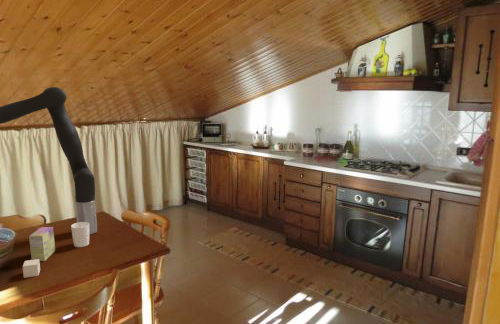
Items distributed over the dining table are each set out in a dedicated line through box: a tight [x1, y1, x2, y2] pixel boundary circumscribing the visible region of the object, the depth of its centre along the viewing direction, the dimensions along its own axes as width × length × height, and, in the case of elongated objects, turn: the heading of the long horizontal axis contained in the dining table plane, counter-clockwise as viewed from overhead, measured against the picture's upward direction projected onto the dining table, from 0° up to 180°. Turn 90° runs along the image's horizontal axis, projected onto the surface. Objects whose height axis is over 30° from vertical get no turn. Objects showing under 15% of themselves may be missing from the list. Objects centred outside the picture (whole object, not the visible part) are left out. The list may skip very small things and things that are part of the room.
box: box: [28, 226, 56, 262], centre depth 160 cm, size 10×6×12 cm, turn 5°
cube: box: [22, 259, 41, 279], centre depth 145 cm, size 5×5×5 cm
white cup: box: [70, 222, 90, 248], centre depth 173 cm, size 8×8×10 cm
